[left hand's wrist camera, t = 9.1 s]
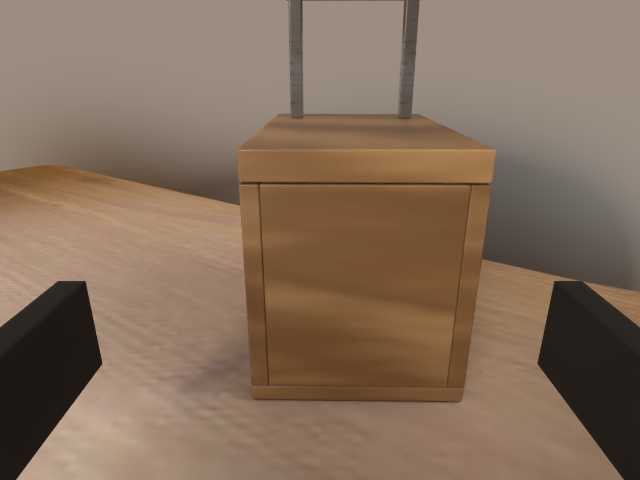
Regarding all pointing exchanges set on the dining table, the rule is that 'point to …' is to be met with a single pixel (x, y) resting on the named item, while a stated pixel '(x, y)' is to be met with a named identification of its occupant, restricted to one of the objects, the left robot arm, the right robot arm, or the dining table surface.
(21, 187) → the dining table surface
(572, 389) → the left robot arm
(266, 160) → the lid
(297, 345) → the chest
